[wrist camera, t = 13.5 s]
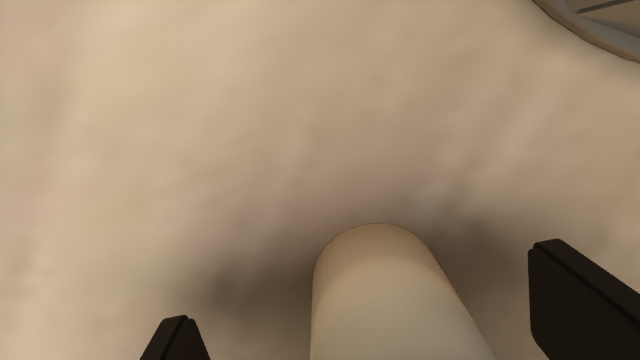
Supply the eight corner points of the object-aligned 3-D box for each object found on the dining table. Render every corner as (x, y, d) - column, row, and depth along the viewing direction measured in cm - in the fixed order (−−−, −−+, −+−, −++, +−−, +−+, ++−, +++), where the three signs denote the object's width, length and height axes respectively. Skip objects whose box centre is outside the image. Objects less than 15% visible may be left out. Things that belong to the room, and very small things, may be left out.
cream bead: (443, 320, 14) (533, 498, 8) (327, 342, 14) (332, 527, 8) (428, 211, 12) (520, 328, 7) (300, 237, 13) (283, 370, 7)
